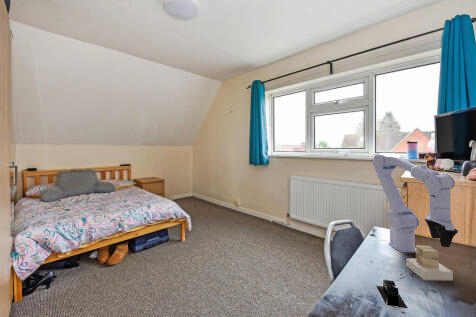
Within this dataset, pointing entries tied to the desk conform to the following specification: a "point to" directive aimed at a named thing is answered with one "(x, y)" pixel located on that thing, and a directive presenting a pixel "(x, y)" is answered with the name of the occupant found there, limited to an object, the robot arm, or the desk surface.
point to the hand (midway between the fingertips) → (440, 242)
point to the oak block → (427, 256)
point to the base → (429, 271)
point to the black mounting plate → (391, 294)
